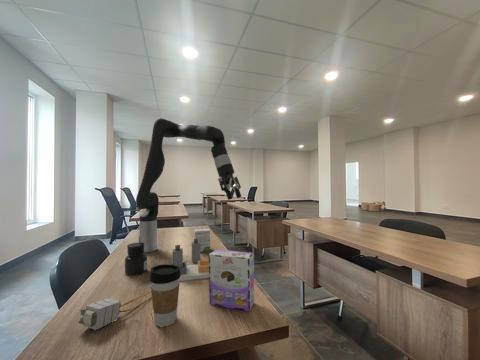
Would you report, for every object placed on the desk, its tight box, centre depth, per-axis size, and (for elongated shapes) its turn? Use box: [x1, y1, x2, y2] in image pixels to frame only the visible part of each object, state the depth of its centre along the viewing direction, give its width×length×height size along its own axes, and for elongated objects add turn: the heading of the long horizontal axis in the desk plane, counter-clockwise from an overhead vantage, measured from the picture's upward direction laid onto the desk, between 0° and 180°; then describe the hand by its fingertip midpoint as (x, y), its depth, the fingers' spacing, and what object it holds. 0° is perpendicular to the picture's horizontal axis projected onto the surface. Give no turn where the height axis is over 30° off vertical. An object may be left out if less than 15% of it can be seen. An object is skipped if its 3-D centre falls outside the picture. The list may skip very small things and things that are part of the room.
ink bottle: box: [124, 241, 148, 277], centre depth 98 cm, size 10×9×12 cm
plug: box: [191, 237, 201, 264], centre depth 111 cm, size 4×4×11 cm
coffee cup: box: [149, 263, 181, 327], centre depth 64 cm, size 8×8×15 cm
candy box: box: [208, 249, 255, 312], centre depth 72 cm, size 14×6×16 cm, turn 71°
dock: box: [169, 244, 209, 282], centre depth 96 cm, size 23×12×12 cm, turn 103°
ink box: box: [193, 228, 211, 253], centre depth 127 cm, size 8×5×12 cm, turn 106°
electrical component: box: [78, 291, 152, 331], centre depth 70 cm, size 24×6×5 cm, turn 158°
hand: (235, 198), depth 103 cm, fingers open, 8 cm apart
